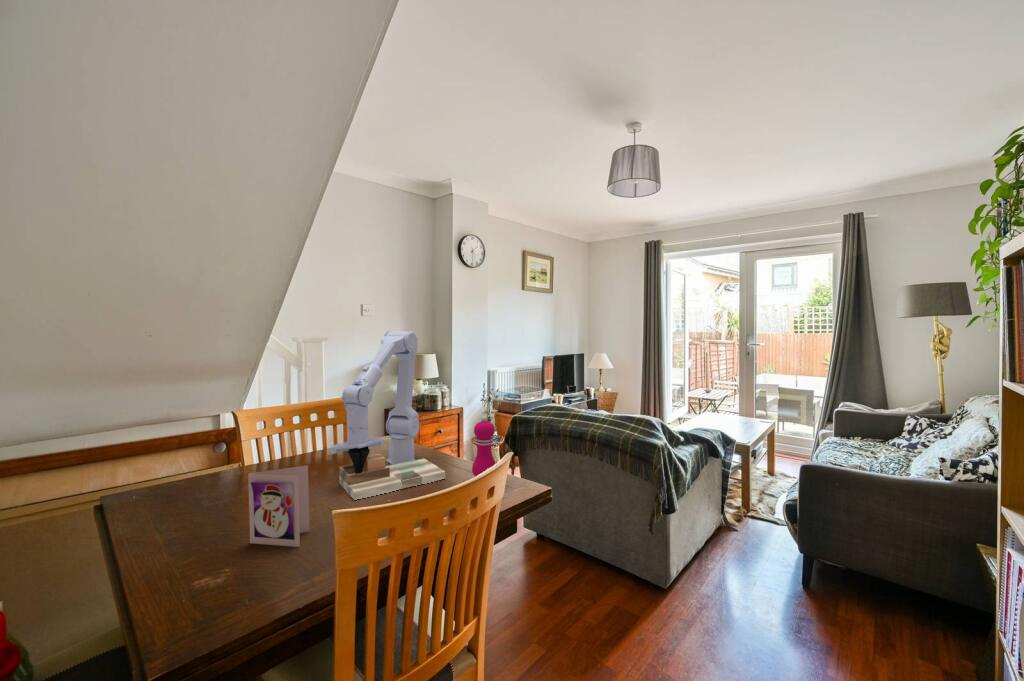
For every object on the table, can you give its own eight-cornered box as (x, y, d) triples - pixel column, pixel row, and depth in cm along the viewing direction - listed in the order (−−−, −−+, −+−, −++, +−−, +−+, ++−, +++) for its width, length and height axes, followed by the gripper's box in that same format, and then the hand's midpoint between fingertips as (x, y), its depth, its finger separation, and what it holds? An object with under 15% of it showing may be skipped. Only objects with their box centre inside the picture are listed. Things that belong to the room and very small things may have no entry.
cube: (362, 473, 127) (362, 456, 126) (379, 469, 129) (379, 453, 129) (368, 478, 123) (367, 461, 122) (385, 474, 125) (385, 457, 125)
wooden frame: (339, 475, 125) (339, 466, 125) (378, 467, 132) (378, 459, 132) (348, 485, 117) (348, 476, 117) (389, 476, 124) (389, 468, 124)
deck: (339, 483, 125) (339, 475, 125) (424, 466, 140) (424, 458, 140) (354, 501, 113) (354, 491, 113) (445, 479, 128) (445, 471, 128)
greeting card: (247, 545, 91) (245, 475, 90) (271, 528, 98) (269, 463, 97) (297, 549, 89) (295, 477, 88) (317, 531, 96) (316, 465, 96)
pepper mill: (498, 480, 128) (498, 413, 127) (495, 489, 121) (495, 418, 120) (474, 479, 128) (474, 413, 128) (469, 488, 121) (469, 418, 120)
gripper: (334, 433, 115) (335, 483, 116) (387, 426, 124) (388, 472, 124) (328, 428, 121) (329, 475, 122) (379, 421, 130) (380, 465, 130)
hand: (358, 473), depth 123 cm, fingers closed
